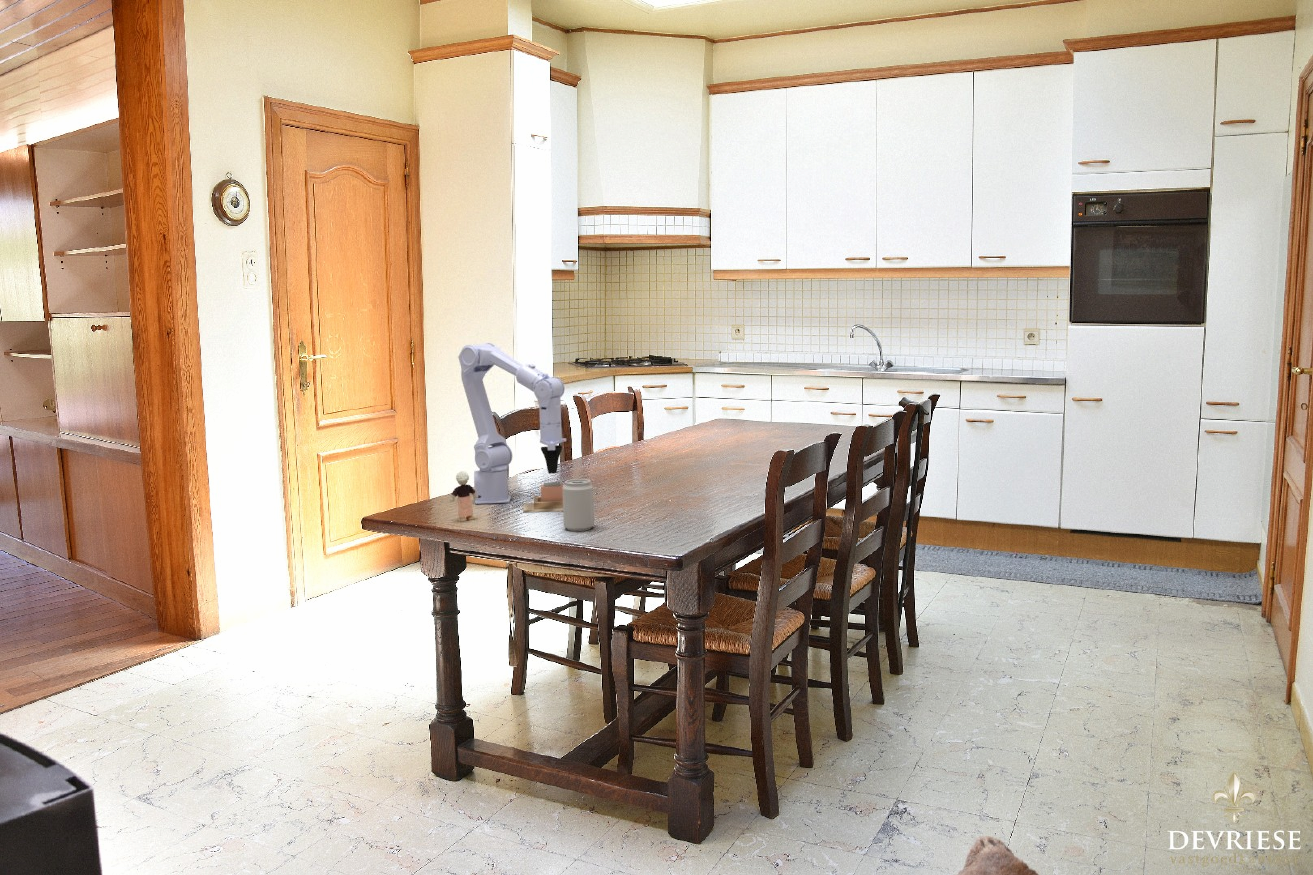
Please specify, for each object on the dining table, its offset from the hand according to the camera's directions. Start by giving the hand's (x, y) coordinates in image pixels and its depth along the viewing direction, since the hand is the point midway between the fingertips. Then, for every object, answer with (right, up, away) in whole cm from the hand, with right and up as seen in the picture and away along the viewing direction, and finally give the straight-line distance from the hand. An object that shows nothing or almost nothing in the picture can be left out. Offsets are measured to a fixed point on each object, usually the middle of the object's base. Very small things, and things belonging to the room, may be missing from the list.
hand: (552, 473), depth 276 cm
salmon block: (0, -9, 0) cm, 9 cm away
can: (+9, -13, -24) cm, 29 cm away
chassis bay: (0, -9, +1) cm, 9 cm away
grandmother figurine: (-22, -12, -12) cm, 27 cm away
